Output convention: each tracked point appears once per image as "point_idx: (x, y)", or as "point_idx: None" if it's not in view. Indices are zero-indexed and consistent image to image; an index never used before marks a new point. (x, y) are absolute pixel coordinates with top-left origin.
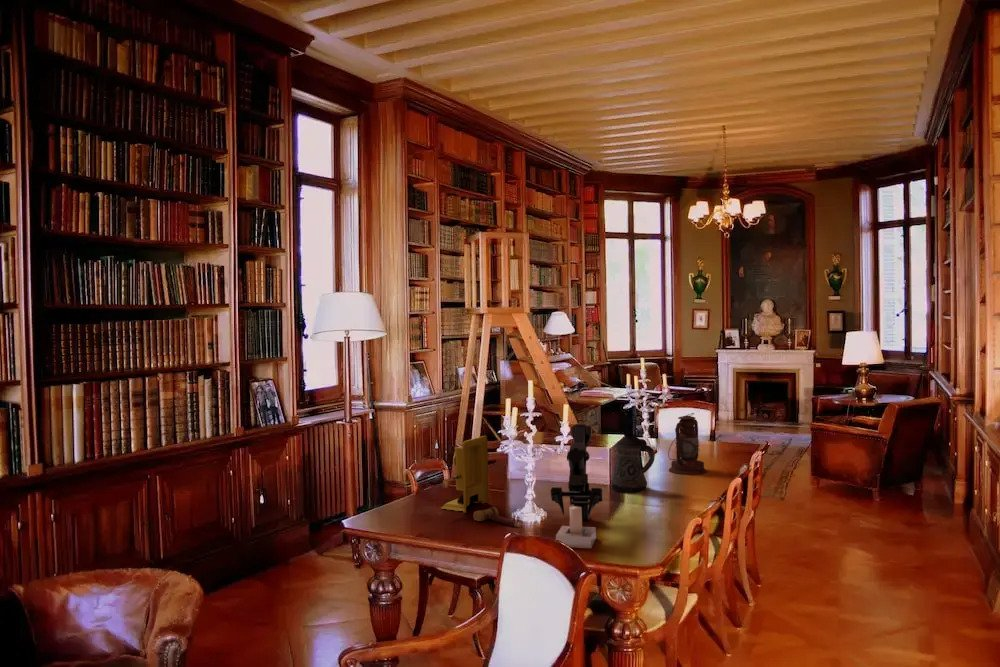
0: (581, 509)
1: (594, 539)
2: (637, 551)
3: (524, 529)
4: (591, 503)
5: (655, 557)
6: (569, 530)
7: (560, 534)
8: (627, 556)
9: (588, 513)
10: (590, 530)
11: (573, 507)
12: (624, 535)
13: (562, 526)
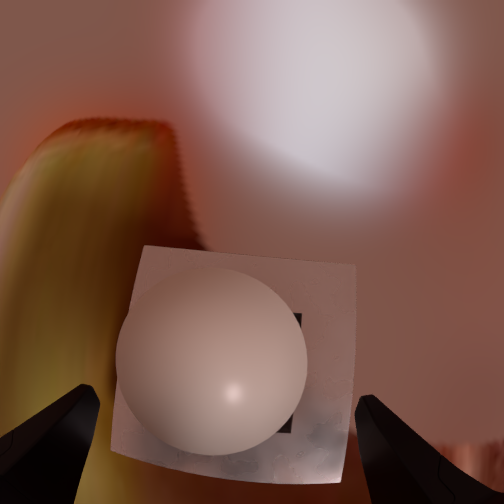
0: (127, 336)
1: None
2: (21, 245)
3: None
4: (4, 443)
5: (8, 198)
6: (284, 430)
7: (331, 283)
8: (60, 192)
9: (85, 387)
10: None
11: (240, 375)
12: None
13: (337, 466)
